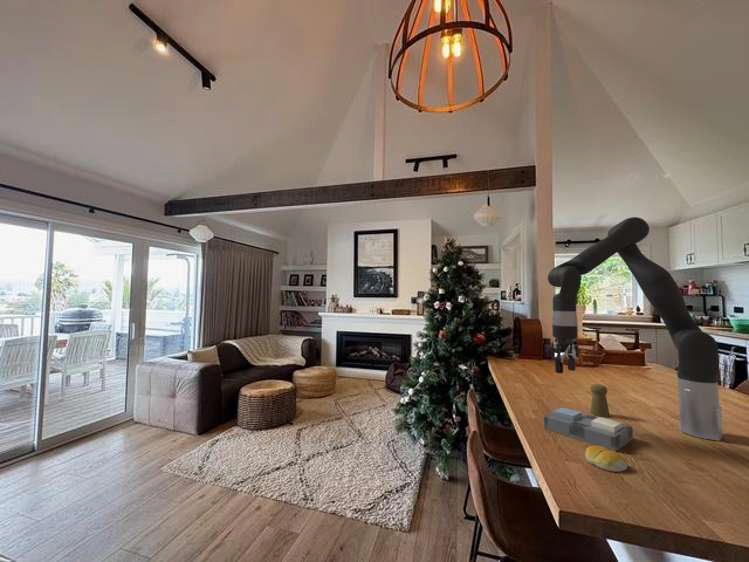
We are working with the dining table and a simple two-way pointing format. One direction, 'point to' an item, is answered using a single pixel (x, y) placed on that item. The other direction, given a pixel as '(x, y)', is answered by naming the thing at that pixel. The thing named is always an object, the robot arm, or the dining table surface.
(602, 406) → the cork
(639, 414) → the dining table surface
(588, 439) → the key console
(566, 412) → the slate-blue key
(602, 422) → the ivory key
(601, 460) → the bread roll
